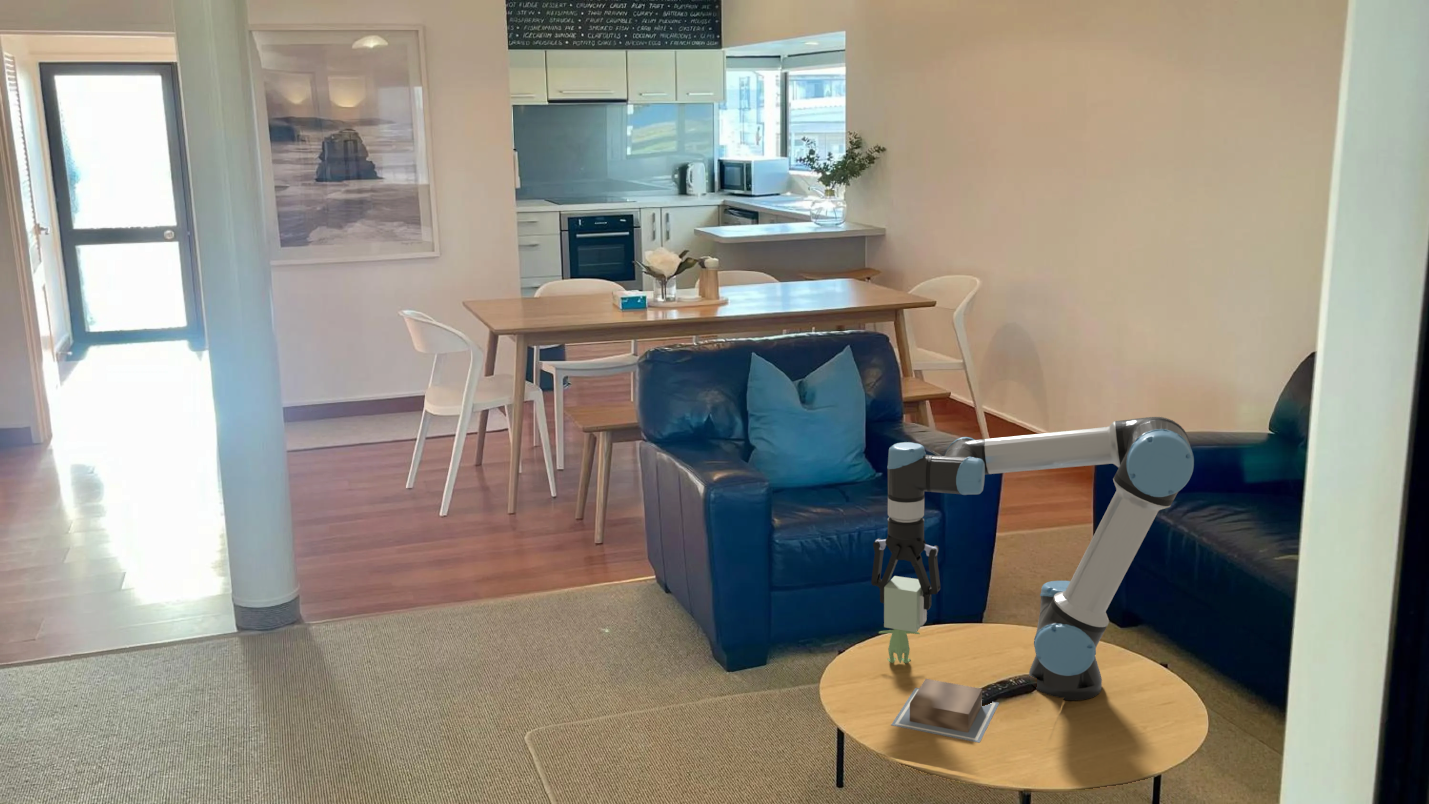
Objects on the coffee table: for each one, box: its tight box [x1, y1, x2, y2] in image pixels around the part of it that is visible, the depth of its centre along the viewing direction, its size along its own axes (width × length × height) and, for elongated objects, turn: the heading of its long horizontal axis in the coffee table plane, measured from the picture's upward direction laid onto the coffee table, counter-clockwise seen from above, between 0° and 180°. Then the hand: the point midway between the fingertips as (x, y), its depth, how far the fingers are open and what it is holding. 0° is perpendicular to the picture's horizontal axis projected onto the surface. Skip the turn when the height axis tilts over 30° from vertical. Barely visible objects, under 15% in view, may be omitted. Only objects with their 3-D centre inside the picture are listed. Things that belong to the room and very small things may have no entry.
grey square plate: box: [890, 687, 1000, 743], centre depth 243 cm, size 18×18×1 cm
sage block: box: [883, 575, 923, 632], centre depth 249 cm, size 7×7×9 cm
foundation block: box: [910, 678, 983, 733], centre depth 242 cm, size 12×12×4 cm
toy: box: [878, 629, 921, 664], centre depth 266 cm, size 7×8×15 cm
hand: (905, 619), depth 250 cm, fingers closed on sage block, 7 cm apart
